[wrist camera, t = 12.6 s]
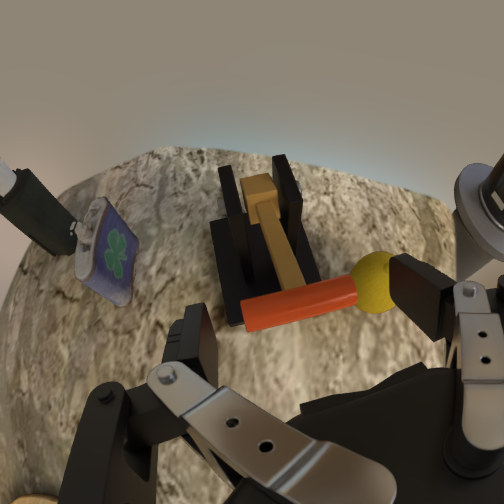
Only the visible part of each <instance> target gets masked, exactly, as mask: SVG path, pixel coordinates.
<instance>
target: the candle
mask: <svg viewBox="0 0 504 504" xmlns="http://www.w3.org/2000/svg"><path fill="white" fill-rule="evenodd" d="M0 213H1V214H2V215H3V216H4V217H5V218H7V220H9V221H10V222H11V223H12V224H13V225H14V226H16V227H17V228H18V229H19V230H20V231H22V232H23V233H24V234H25V235H27V236H28V237H29V238H30V239H32V240H33V241H34V242H35V243H37V244H38V245H39V246H40V247H42V248H43V249H44V250H46V251H47V252H48V253H50V254H51V255H52V256H56V255H68V256H70V255H72V254H73V253H74V252H75V251H76V246H77V240H78V238H77V234H76V233H75V228H76V225H77V223H78V221H77V220H76V219H75V218H74V217H73V216H72V215H71V214H70V213H69V212H68V211H67V210H66V209H65V208H64V207H63V206H62V205H61V204H60V203H59V202H58V200H57V199H56V198H55V197H54V196H53V195H52V194H51V193H50V192H49V191H48V190H47V189H46V187H45V186H44V185H43V184H42V183H41V182H40V181H39V180H38V179H37V177H36V176H35V175H34V174H33V173H32V172H31V170H29V169H28V168H27V169H24V170H20V169H16V171H14V170H11V169H10V168H9V167H8V166H7V165H6V163H5V162H4V161H3V160H2V159H1V158H0ZM73 222H76V223H75V225H74V229H72V230H70V227H71V225H72V223H73ZM70 233H72V235H71V234H70Z"/></svg>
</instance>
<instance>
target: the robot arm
mask: <svg viewBox="0 0 504 504" xmlns="http://www.w3.org/2000/svg"><path fill="white" fill-rule="evenodd" d="M478 195H479V200H480V203H481V206H482V208H483V210H484V212H485V214H486V215H487V217H488V218H489V220H490V221H491V222H492V223H493V224H494V225H495V226H496V227H497V228H498V229H499V230H501V231H502V232H504V154H503V155H502V157H501V158H500V160H499V161H498V162H497V164H496V165H495V167H494V168H493V169H492V171H491V172H490V173H489V175H488V176H487V178H486V179H484V180H483V182H482V183H481V184H480V186H479V190H478ZM389 293H390V297H391V299H392V301H393V302H394V303H395V304H396V305H397V306H398V307H399V308H400V309H401V310H402V311H403V312H404V313H405V314H406V315H407V316H408V317H409V318H410V319H411V320H412V321H413V322H414V323H415V324H416V325H417V326H418V327H419V328H420V329H421V330H422V331H423V332H424V333H425V334H426V335H427V336H428V337H429V338H430V339H431V340H432V341H433V342H435V341H437V340H440V339H442V338H444V337H445V338H446V339H445V344H444V361H443V367H441V368H430V369H427V367H426V366H425V365H424V364H423V363H422V362H419V363H417V364H415V365H413V366H410V367H408V368H405V369H403V370H401V371H398V372H396V373H394V374H393V375H391V376H390V377H388V378H387V379H385V380H384V381H382V382H381V383H379V384H377V385H376V386H374V387H373V388H371V389H369V390H365V391H358V392H351V393H343V394H335V395H330V396H327V397H323V398H320V399H316V400H313V401H309V402H305V403H302V404H300V410H301V414H299V415H297V416H295V417H294V418H292V419H291V420H289V421H288V422H286V423H284V422H283V421H281V420H279V419H278V418H276V417H274V416H273V415H271V414H269V413H268V412H266V411H265V410H263V409H261V408H260V407H258V406H257V405H255V404H253V403H252V402H250V401H249V400H247V399H246V398H244V397H243V396H241V395H240V394H238V393H237V392H235V391H234V390H232V389H231V388H229V387H227V386H222V387H220V388H219V389H218V346H217V340H216V336H215V332H214V329H213V326H212V323H211V320H210V317H209V314H208V311H207V308H206V305H205V303H204V302H203V303H198V304H193V305H188V306H186V309H185V314H184V319H179V320H176V321H175V322H174V323H173V325H172V326H171V327H170V329H169V333H168V337H167V341H166V343H167V344H166V345H165V350H164V354H163V358H162V362H161V364H160V365H158V366H156V367H155V368H153V369H152V370H151V371H150V373H149V374H148V376H147V383H145V384H143V385H141V386H138V387H135V388H132V389H129V390H125V389H124V387H123V386H122V385H121V384H120V383H118V382H106V383H103V384H101V385H99V386H97V387H96V388H95V389H94V390H93V391H92V392H91V393H90V394H89V397H88V399H87V402H86V405H85V408H84V411H83V414H82V417H81V420H80V423H79V426H78V429H77V432H76V435H75V438H74V442H73V445H72V448H71V452H70V455H69V459H68V462H67V466H66V470H65V473H64V477H63V481H62V485H61V489H60V494H59V498H58V503H57V504H156V484H157V461H158V445H159V443H162V442H165V441H168V440H171V439H174V438H177V437H179V436H180V438H181V439H182V440H183V441H184V442H185V443H186V444H187V445H188V446H189V447H190V448H191V449H192V450H193V451H194V452H195V453H196V454H197V455H198V456H199V457H200V458H201V459H202V460H203V461H204V462H205V463H206V464H208V465H209V466H210V467H211V468H212V469H213V471H214V472H215V473H216V474H217V475H218V476H219V477H220V478H221V479H222V480H223V481H224V482H225V483H226V484H227V485H228V486H229V487H230V488H231V489H233V492H232V493H231V494H230V496H229V497H228V498H227V500H226V501H225V502H224V503H223V504H504V275H501V276H500V277H499V278H498V283H497V288H493V289H488V290H485V288H484V286H482V285H481V284H479V283H477V282H474V281H461V282H458V283H457V282H456V281H454V280H453V279H451V278H450V277H448V276H447V275H445V274H444V273H441V272H440V271H439V270H437V269H435V268H434V267H433V266H431V265H429V264H428V263H425V262H421V261H418V260H417V259H415V258H414V257H412V256H410V255H409V254H407V253H403V254H400V255H396V256H393V257H391V258H390V259H389Z"/></svg>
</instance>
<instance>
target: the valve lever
mask: <svg viewBox="0 0 504 504" xmlns="http://www.w3.org/2000/svg"><path fill="white" fill-rule="evenodd" d="M240 184H241V189H242V194H243V199H244V204H245V207H246V211H247V214H248V218H249V221H250V224H251V225H252V224H257V223H260V226H261V229H262V232H263V235H264V238H265V241H266V243H267V246H268V249H269V252H270V255H271V258H272V261H273V264H274V267H275V270H276V273H277V276H278V280H279V283H280V286H281V289H282V291H280V292H275V293H271V294H267V295H263V296H259V297H254V298H250V299H246V300H241V302H240V304H241V309H242V314H243V318H244V323H245V326H246V330H247V332H253V331H258V330H262V329H266V328H271V327H275V326H279V325H283V324H287V323H291V322H295V321H299V320H303V319H306V318H310V317H314V316H318V315H321V314H325V313H328V312H332V311H336V310H339V309H343V308H346V307H349V306H353V305H355V304H356V303H357V300H358V294H357V288H356V285H355V282H354V280H353V278H352V277H351V276H350V275H349V274H346V275H342V276H339V277H335V278H331V279H327V280H323V281H320V282H316V283H312V284H308V285H306V283H305V280H304V278H303V275H302V273H301V270H300V268H299V266H298V263H297V261H296V259H295V256H294V254H293V251H292V249H291V247H290V244H289V242H288V240H287V237H286V235H285V233H284V230H283V228H282V226H281V223H280V221H279V218H280V209H279V201H278V192H277V189H276V187H275V185H274V183H273V181H272V179H271V177H270V175H269V173H264V174H259V175H255V176H250V177H245V178H241V179H240Z"/></svg>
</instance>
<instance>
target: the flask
mask: <svg viewBox="0 0 504 504" xmlns="http://www.w3.org/2000/svg"><path fill="white" fill-rule="evenodd" d="M75 223H76V222H73V223H72V225H71V227H70V230H72V229H74V225H75ZM75 233H76V234H77V238H78V240H77V246H76V251H75V263H74V274H75V278H76V279H77V280H79V281H80V282H82V283H83V284H85V285H86V286H88V287H89V288H91V289H92V290H94V291H95V292H97V293H98V294H100V295H102V296H103V297H105V298H106V299H108V300H110V301H111V302H113V303H114V304H115V305H116V306H119V307H126V306H129V304H130V302H131V299H132V296H133V292H134V290H132V289H133V288H132V287H133V282H134V279H135V275H136V274H135V272H136V271H135V267H134V264H135V262H137V261H136V254H137V253H138V248H139V244H140V242H139V240H138V239H137V237H136V236H135V235H134V234H133V233H132V232H131V230H130V229H129V228H128V226H127V224H126V223H125V222H124V221H123V220H122V219H121V217H120V216H119V215H118V213H117V212H116V210H115V209H114V207H113V206H112V205H111V204H110V202H109V201H108V199H107V197H98V198H97V199H95V200H93V201H92V203H91V204H90V206H89V208H88V211H87V213H86V215H85V218H84V220H83V222H82V223H80V222H79V221H78V223H77V225H76V228H75ZM70 234H71V235H72V233H70Z"/></svg>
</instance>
